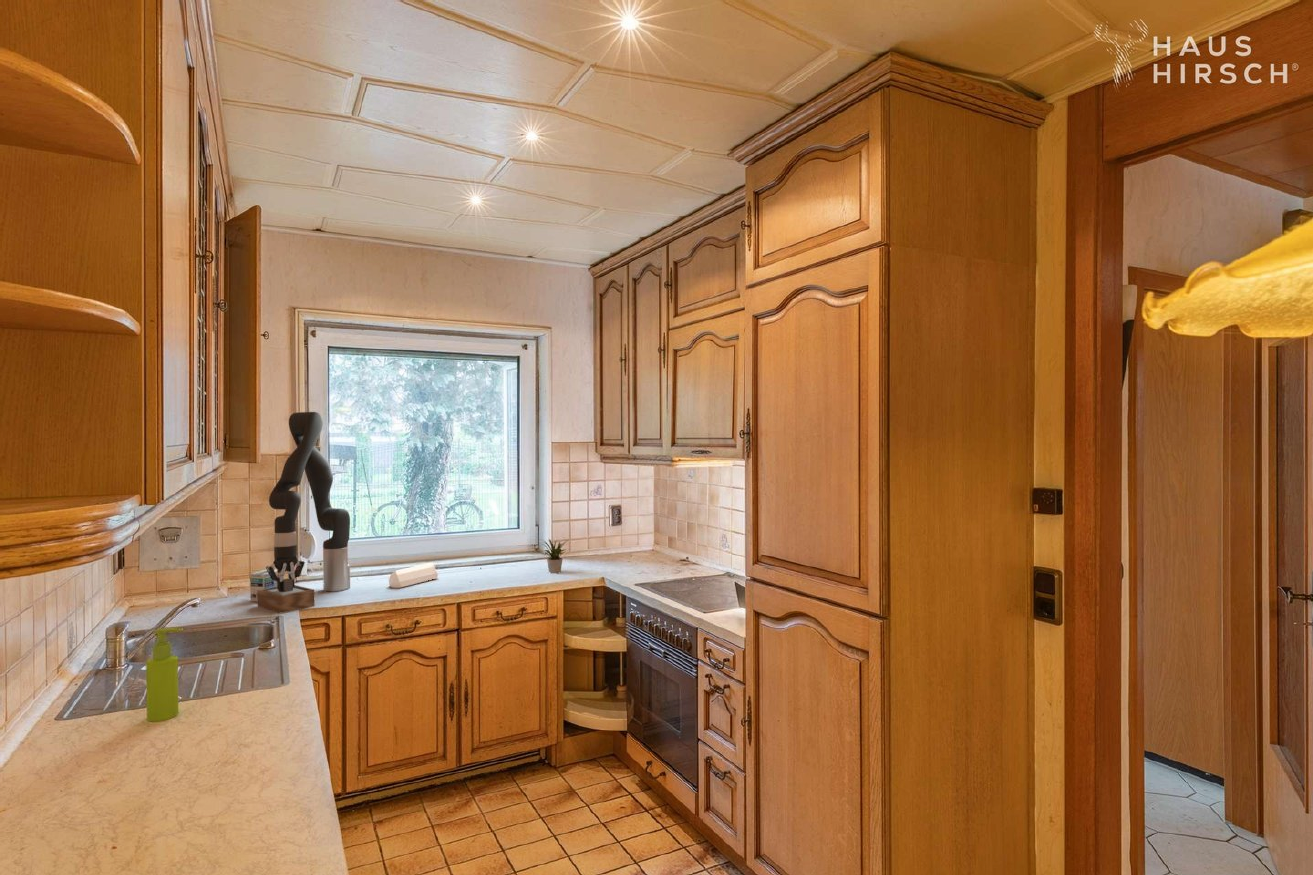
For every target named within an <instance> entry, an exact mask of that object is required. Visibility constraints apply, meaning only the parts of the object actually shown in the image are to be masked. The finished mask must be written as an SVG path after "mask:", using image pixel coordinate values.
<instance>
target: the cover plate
mask: <svg viewBox="0 0 1313 875" xmlns="http://www.w3.org/2000/svg"><path fill="white" fill-rule="evenodd" d="M302 591H305V590H301V589H297V588H293V580H292V579H289V578H284V579H283V592H280V591H279V590H278V589H272V590H267V592H269V593H273V594H277V595H287V594H292V593H297V592H302Z"/></svg>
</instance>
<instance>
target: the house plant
mask: <svg viewBox="0 0 1313 875" xmlns="http://www.w3.org/2000/svg"><path fill="white" fill-rule="evenodd" d="M539 540H541V541H542V542H543V543H542V546H544V548H546V549H545V550H543V551H542V552H543V553H544V556H546V555H548V558H547V559H546V561H547V568H548V573H549V572H551V573H550V574H559V573H558V572H560V573H561V571H562V565H563V557H561V556H562V555H563V554H564V553H565V549H562V547H563V546H564V545H565V544H566V543H567V542H568V540H566V541H564V542H561V540H559V542H558V544H557V541H554V543H553V542H552V540H551V539H550V538H548V542H549V544H548V543H547V542H546V541H545V540H544V539H539ZM556 544H557V547H556ZM563 551H564V552H563Z"/></svg>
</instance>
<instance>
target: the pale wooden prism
mask: <svg viewBox="0 0 1313 875" xmlns="http://www.w3.org/2000/svg"><path fill="white" fill-rule="evenodd" d="M438 576H439V575H438V571H437V569H436V567H435V564H433V563H432V562H429V563H428V562H427V563H423V564H420V565H415V566H411V567H407V568H406V567H405V568H401V569H397V570H395V571H393V572H392V573H390V576H389V578H388V585H389V587H390V588H392V589H400V588H405V587H409V586H412V585H416V584H419V583H420V584H421V583H424V582H428V580H429V581H432V579H433V580H436V579H438Z"/></svg>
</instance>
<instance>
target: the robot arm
mask: <svg viewBox="0 0 1313 875" xmlns="http://www.w3.org/2000/svg"><path fill="white" fill-rule="evenodd" d="M323 427H324V419H323V417H322V415H321V414H320V413H319V412H316V411H299V412H293V413H291V414H290V415H289V418H288V428H289V431H290V434H291V437H292V439H293V441H294V443H295V445H296V448H295V449H294V450H293V451H292V453H291V454H290V455H289V456H288V458H287V459H286V460H285V463H284V465H283V469H282V471H281V472H282V473H281V476H280V478H279V480H278V481H277V482H276V485H274V488H273V489H272V490H271V492H270V495H269V498H268V503H269V506H270V507H271V509H274V510H285V512H284V514H283V515H279V516H277V517H275V518H274V528H273V529H274V535H273V559H274V560H273V562H272V564H270V565H266V567H265V570H267V571H268V573H269V575H270V577H271V579H272V580H274V581H277V589H278V590H279V591H280V592H283V577H284V578H285V575H286V574H287V576H288V579H292V580H293V588H294V585H295V580H296V578H299V577H301V576H300V575H301V574H302V572H303V568H304V567H305V561H303V560H299V559H298V557H297V555H298V552H297V551H298V548H297V547H298V545H297V544H298V543H297V542H298V538H297V530H296V529H297V526H296V524H297V523H296V521H297V517H298V514H299V509H300V506H301V502H302V499H301V496H300V494H299V492H297V490H291V489H293V488H295V487H298V486H300V485H301V482H302V478H303V476H304V472H305V475H306V478H307V482H308V486H309V489H310V491H311V496H312V498H313V503H314V508H315V514H316V519H317V522H318V523H317V524H318V526H319V527H320V529H321V530H323V531H329V532H332V536H331V537H330V538H328V539H326V540H324V541H323V543H322V559H323V560H322V562H323V563H322V567H323V568H322V569H323V571H322V572H323V574H322V575H323V577H322V578H323V580H322V582H323V592H339V591H345V590H347V589H350V588H351V565H350V564H349V562H348V561H349V554H348V552H349V549H348V547H349V546H348V543H349V541H350V531H351V530H350V529H351V516H350V513H349V510H347V509H345V508H333V507H332V505H331V502H330V497H329V496H330V492H331V488H332V486H333V481H334V475H333V472H332V469H331V465H330V463H329V461H328V459H327V458H326V456H324V454H323V453H321V451H319V450H318V448H317V447H316V444H317V441H318V439H319V437H320V435H321V433H322V430H323ZM275 569H277V576H276V574H275V572H274V570H275ZM285 573H286V574H285Z"/></svg>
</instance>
